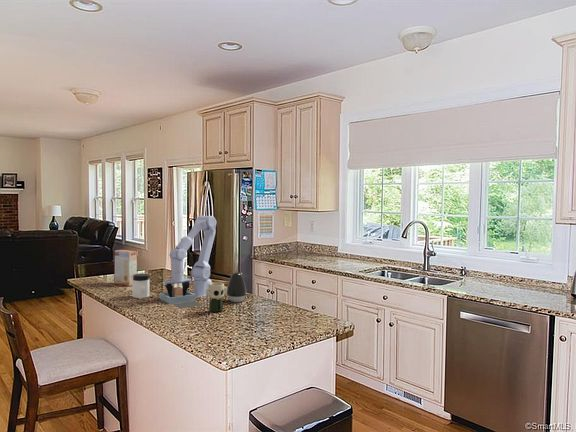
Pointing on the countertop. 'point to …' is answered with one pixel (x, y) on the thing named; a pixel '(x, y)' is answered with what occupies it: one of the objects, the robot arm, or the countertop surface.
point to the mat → (187, 304)
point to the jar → (140, 285)
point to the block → (177, 292)
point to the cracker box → (125, 266)
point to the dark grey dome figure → (236, 288)
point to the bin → (177, 298)
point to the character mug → (216, 296)
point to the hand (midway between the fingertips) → (177, 297)
